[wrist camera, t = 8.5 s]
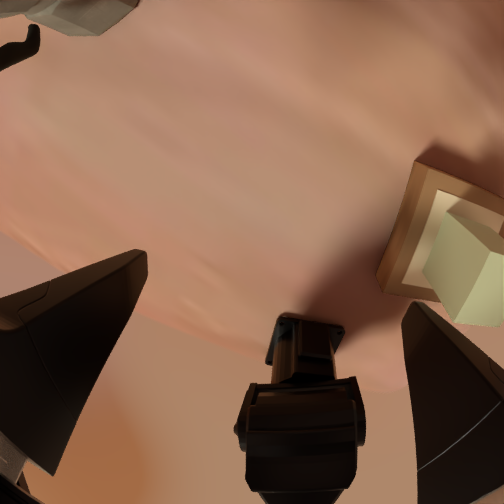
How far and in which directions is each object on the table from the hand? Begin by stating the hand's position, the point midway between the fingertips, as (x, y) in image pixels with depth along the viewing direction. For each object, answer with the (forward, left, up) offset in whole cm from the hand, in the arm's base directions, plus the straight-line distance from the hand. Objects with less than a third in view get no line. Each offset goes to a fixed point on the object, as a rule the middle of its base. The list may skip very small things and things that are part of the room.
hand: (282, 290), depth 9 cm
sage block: (-1, -14, -10) cm, 17 cm away
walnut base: (-1, -14, -13) cm, 19 cm away
